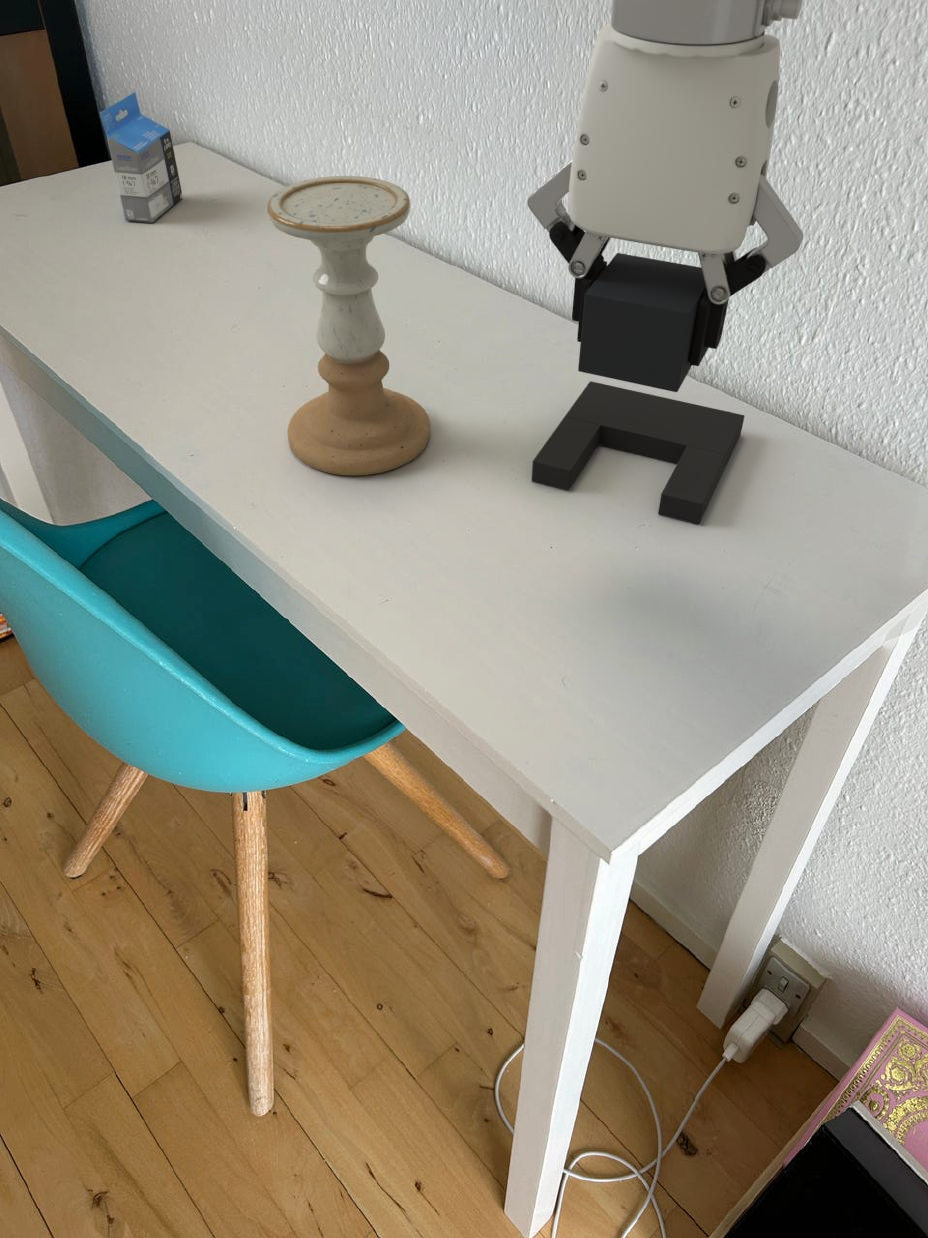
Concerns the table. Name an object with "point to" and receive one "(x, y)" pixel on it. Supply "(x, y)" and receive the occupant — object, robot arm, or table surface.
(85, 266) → the table surface
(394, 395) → the candle holder
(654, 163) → the robot arm
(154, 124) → the ink cartridge box
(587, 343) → the black cube block
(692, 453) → the base pad
